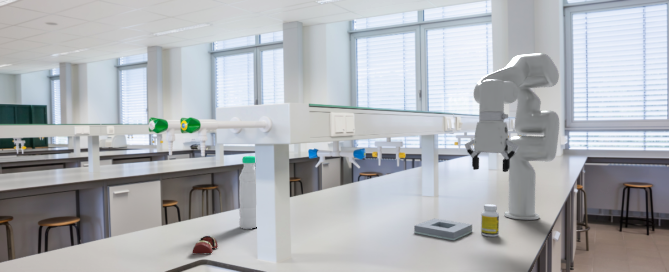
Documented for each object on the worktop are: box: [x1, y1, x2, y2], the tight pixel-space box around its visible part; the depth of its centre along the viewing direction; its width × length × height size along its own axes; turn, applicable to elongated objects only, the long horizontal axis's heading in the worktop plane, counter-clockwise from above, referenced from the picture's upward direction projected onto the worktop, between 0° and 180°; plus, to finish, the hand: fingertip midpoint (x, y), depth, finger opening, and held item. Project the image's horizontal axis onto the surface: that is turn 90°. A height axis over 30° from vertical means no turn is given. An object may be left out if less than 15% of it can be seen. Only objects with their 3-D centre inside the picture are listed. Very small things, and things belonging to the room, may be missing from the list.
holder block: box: [413, 218, 473, 241], centre depth 144 cm, size 14×14×2 cm
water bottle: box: [238, 155, 257, 230], centre depth 151 cm, size 7×7×25 cm
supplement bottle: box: [480, 203, 500, 238], centre depth 141 cm, size 5×5×10 cm
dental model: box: [192, 235, 219, 254], centre depth 123 cm, size 6×4×8 cm
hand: (490, 170), depth 140 cm, fingers open, 9 cm apart
